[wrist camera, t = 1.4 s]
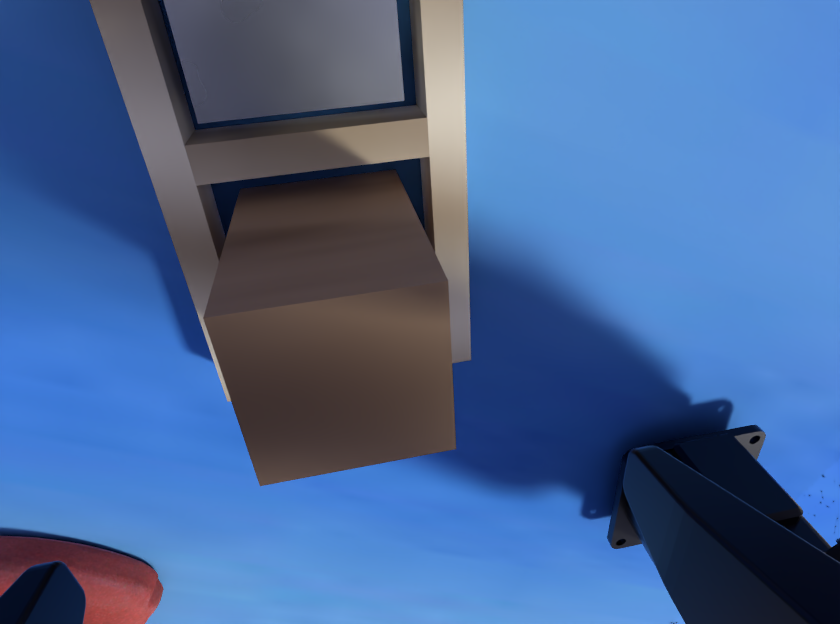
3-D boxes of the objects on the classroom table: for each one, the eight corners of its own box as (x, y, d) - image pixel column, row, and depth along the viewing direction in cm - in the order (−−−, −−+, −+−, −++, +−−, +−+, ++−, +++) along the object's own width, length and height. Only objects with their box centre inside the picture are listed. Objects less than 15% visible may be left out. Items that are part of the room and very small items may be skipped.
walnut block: (407, 298, 19) (456, 448, 13) (273, 319, 18) (260, 485, 12) (395, 168, 16) (448, 280, 10) (240, 188, 16) (203, 318, 10)
